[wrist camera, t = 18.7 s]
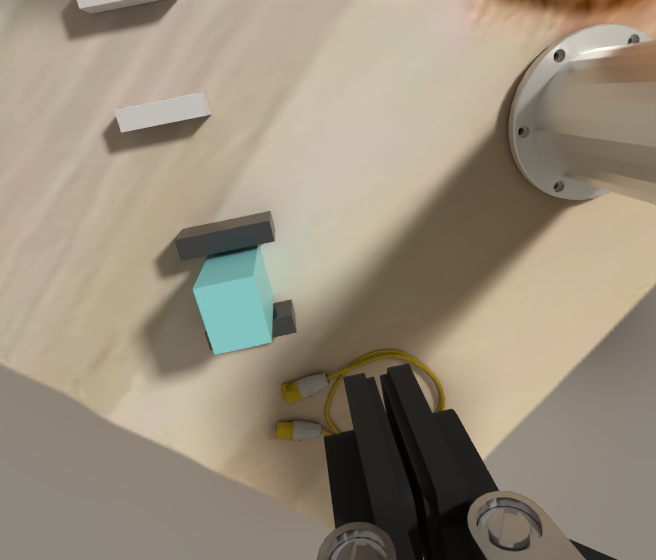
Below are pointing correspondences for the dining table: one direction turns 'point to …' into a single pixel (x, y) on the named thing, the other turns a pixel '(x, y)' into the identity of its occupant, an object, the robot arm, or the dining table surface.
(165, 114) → the pair of white bars
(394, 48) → the dining table surface
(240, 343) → the turquoise rectangular block
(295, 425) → the extension cord
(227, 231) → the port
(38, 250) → the dining table surface
